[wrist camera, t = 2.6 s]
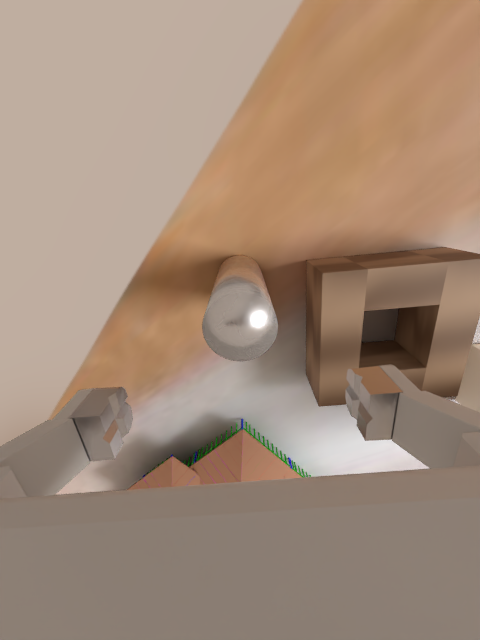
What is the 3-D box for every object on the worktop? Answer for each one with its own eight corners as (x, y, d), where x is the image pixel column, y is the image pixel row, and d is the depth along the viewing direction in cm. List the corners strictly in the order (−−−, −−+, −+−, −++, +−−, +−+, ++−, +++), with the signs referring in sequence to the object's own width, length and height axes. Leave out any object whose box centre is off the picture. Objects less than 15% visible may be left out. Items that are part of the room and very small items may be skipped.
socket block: (306, 260, 24) (322, 273, 19) (445, 247, 23) (495, 257, 19) (305, 373, 28) (318, 406, 24) (421, 364, 28) (457, 396, 23)
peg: (215, 257, 24) (196, 296, 13) (260, 253, 23) (276, 288, 13) (220, 300, 25) (207, 363, 15) (263, 296, 25) (279, 358, 15)
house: (225, 393, 30) (221, 456, 22) (381, 526, 40) (415, 601, 32) (103, 488, 36) (67, 562, 29) (264, 583, 46) (269, 657, 38)
